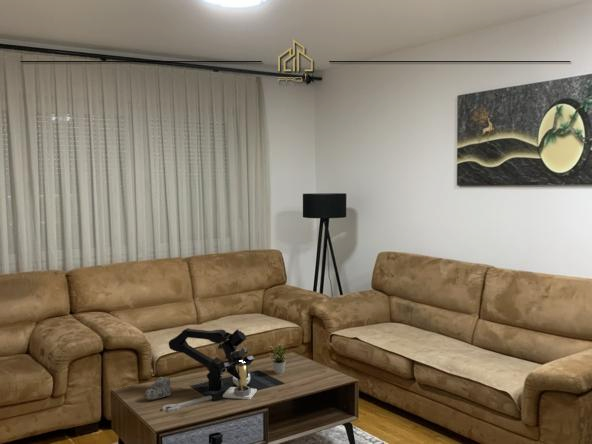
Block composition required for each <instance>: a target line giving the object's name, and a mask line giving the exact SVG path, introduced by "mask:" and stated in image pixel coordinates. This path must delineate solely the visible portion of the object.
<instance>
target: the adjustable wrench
mask: <svg viewBox="0 0 592 444" xmlns="http://www.w3.org/2000/svg"><path fill="white" fill-rule="evenodd" d="M210 400H213V396H212V395H206V396H202V397H199V398H195V399H191V400H187V401H183V402H181V403H174V404H171V403H170V404H166V405H165V404H164V405H163V406H162V411H166V410H167V412H168V413H171V412H172V413H173V412H176V411H178V410H180V409H182V408H184V407H188V406H191V405H195V404H199V403H202V402H206V401H210Z"/></svg>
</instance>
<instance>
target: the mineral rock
mask: <svg viewBox="0 0 592 444" xmlns="http://www.w3.org/2000/svg"><path fill="white" fill-rule="evenodd" d="M171 395H172V387H171V379H170V377H169V376H165V377H163V376H160V377H158V378H157V379H156V380H155V382H154V383H152V384H151V385H150V386H149V387H148V389H147V390H146V391H145V398H146V400H158V399H162V398H164V397H165V398H166V397H168V396H171Z"/></svg>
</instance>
